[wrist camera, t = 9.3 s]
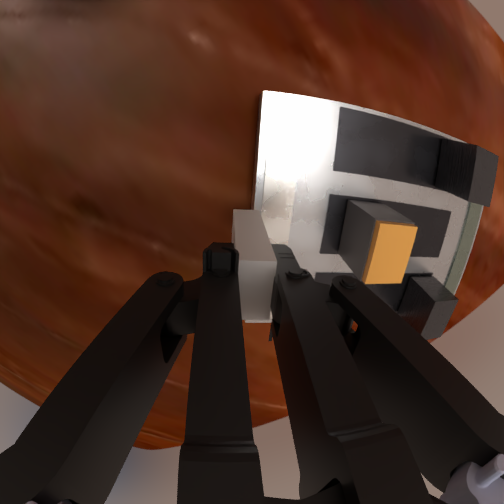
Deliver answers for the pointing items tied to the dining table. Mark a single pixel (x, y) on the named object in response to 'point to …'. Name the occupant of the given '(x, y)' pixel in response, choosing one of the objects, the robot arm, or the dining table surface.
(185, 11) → the dining table surface
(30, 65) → the dining table surface
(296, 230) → the panel
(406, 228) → the block
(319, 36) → the dining table surface
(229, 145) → the dining table surface
